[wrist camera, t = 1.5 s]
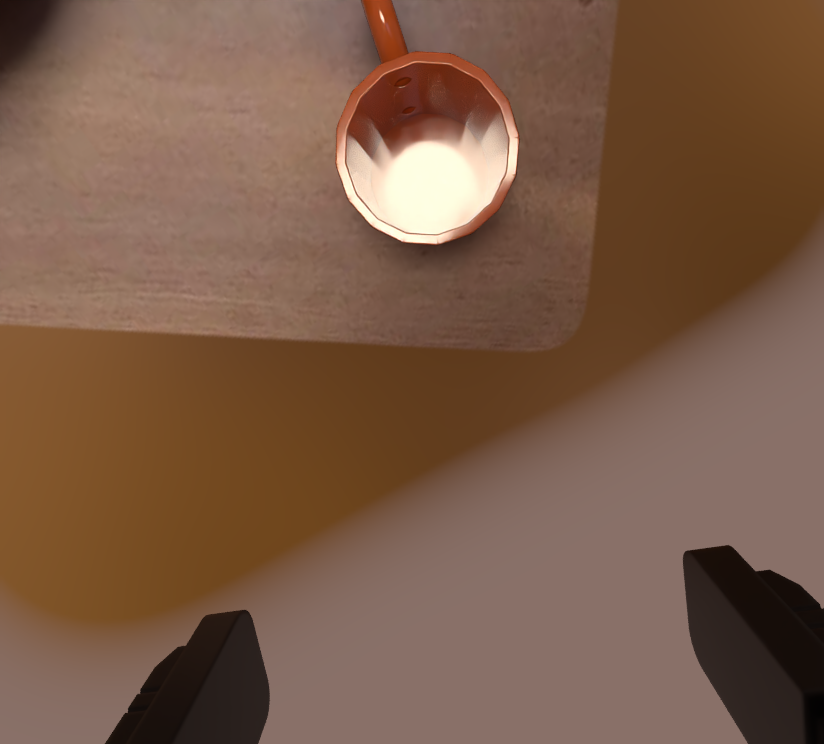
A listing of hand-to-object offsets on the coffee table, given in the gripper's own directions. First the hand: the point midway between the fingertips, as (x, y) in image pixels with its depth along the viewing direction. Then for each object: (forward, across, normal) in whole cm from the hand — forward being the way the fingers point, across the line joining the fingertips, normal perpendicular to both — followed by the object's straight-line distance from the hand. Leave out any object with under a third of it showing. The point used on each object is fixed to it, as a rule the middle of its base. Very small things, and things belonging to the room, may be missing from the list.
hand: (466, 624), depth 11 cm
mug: (+24, 0, -12) cm, 27 cm away
